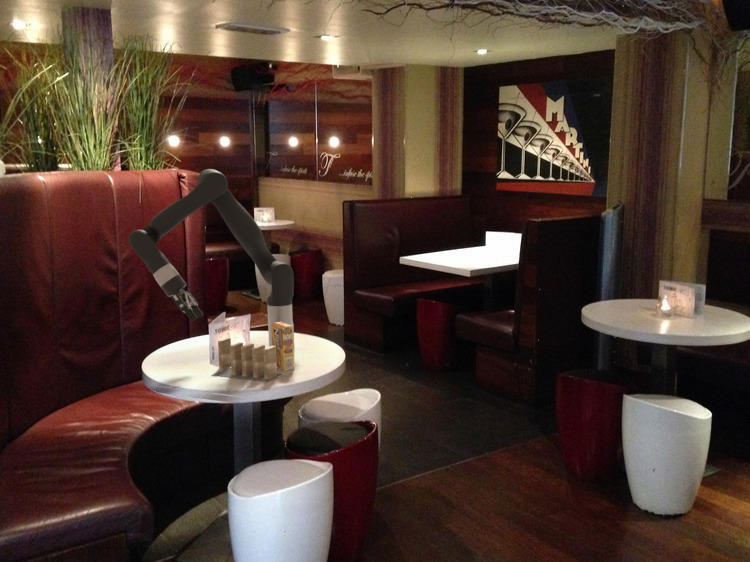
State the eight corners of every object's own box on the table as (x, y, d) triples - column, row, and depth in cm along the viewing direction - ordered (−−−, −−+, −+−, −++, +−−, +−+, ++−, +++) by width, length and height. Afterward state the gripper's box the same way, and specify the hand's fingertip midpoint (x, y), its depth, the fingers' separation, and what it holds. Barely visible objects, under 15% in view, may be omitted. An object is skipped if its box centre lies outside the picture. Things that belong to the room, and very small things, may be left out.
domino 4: (253, 377, 234) (252, 348, 232) (261, 373, 238) (260, 344, 237) (257, 378, 233) (256, 348, 231) (266, 374, 237) (264, 344, 236)
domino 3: (242, 376, 235) (241, 346, 234) (251, 372, 240) (249, 343, 238) (246, 377, 235) (245, 347, 233) (255, 373, 239) (253, 343, 238)
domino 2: (231, 375, 237) (230, 345, 236) (240, 371, 242) (238, 342, 240) (235, 375, 236) (234, 346, 235) (244, 371, 241) (242, 342, 239)
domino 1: (219, 369, 246) (217, 340, 245) (228, 365, 251) (226, 337, 249) (223, 369, 246) (221, 341, 244) (231, 366, 250) (230, 337, 249)
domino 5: (264, 379, 232) (263, 349, 230) (273, 375, 236) (271, 345, 235) (268, 379, 231) (267, 349, 230) (277, 375, 236) (276, 346, 234)
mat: (228, 368, 247) (228, 367, 247) (283, 375, 238) (283, 374, 238) (210, 376, 238) (210, 375, 238) (267, 383, 229) (267, 382, 229)
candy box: (295, 369, 244) (293, 325, 242) (283, 371, 242) (282, 327, 240) (283, 364, 252) (281, 321, 249) (272, 365, 249) (270, 322, 247)
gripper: (172, 274, 238) (201, 314, 239) (184, 272, 252) (211, 309, 253) (154, 287, 238) (183, 327, 239) (167, 284, 253) (194, 322, 253)
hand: (197, 318), depth 246 cm, fingers open, 8 cm apart
